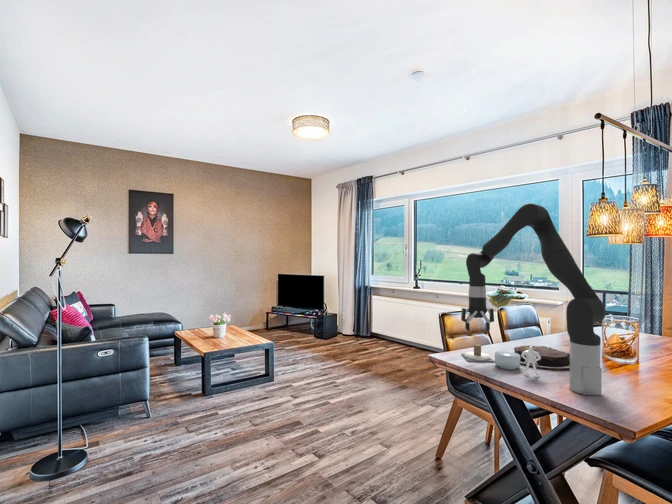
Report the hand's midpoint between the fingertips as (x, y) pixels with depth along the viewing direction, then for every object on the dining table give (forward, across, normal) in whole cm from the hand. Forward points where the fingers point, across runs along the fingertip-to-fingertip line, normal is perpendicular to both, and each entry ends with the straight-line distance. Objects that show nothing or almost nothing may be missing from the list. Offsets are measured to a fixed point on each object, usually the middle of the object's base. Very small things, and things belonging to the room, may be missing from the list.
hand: (477, 330), depth 173 cm
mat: (+13, 0, 0) cm, 13 cm away
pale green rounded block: (+13, +9, -12) cm, 20 cm away
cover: (+12, 0, 0) cm, 12 cm away
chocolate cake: (+14, +28, -1) cm, 31 cm away
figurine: (+14, +14, -23) cm, 30 cm away
